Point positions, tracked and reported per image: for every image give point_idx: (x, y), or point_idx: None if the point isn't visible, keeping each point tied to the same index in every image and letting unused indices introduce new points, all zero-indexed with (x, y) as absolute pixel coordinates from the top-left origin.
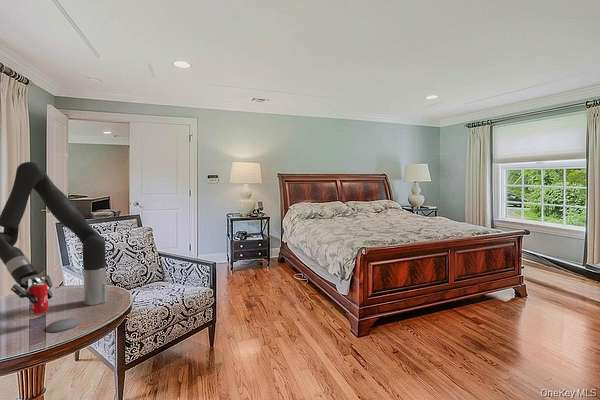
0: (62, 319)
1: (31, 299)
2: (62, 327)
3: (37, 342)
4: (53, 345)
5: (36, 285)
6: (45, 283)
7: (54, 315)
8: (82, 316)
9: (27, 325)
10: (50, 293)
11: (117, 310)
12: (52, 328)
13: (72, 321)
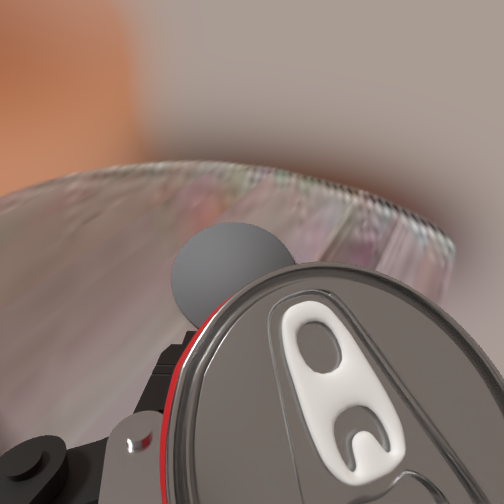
0: (192, 322)
1: None
2: (259, 248)
3: (360, 245)
4: (345, 189)
5: (451, 343)
6: (267, 274)
7: None
8: (126, 283)
9: None
10: (185, 348)
11: (53, 198)
12: None
13: (202, 258)
